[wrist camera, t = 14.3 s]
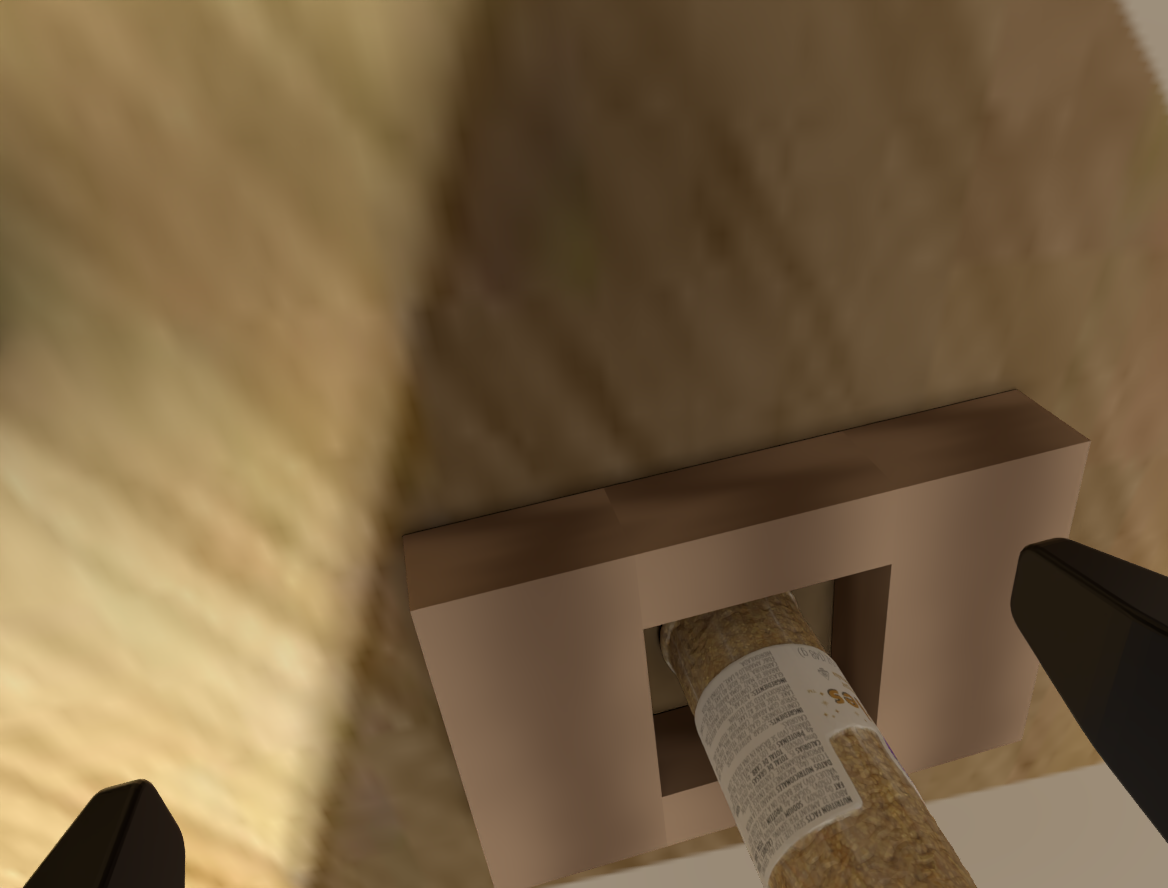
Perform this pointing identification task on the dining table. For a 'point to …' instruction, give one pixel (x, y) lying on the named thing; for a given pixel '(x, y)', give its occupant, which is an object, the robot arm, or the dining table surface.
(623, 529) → the socket block
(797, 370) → the dining table surface
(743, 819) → the sprinkles bottle
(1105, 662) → the robot arm
